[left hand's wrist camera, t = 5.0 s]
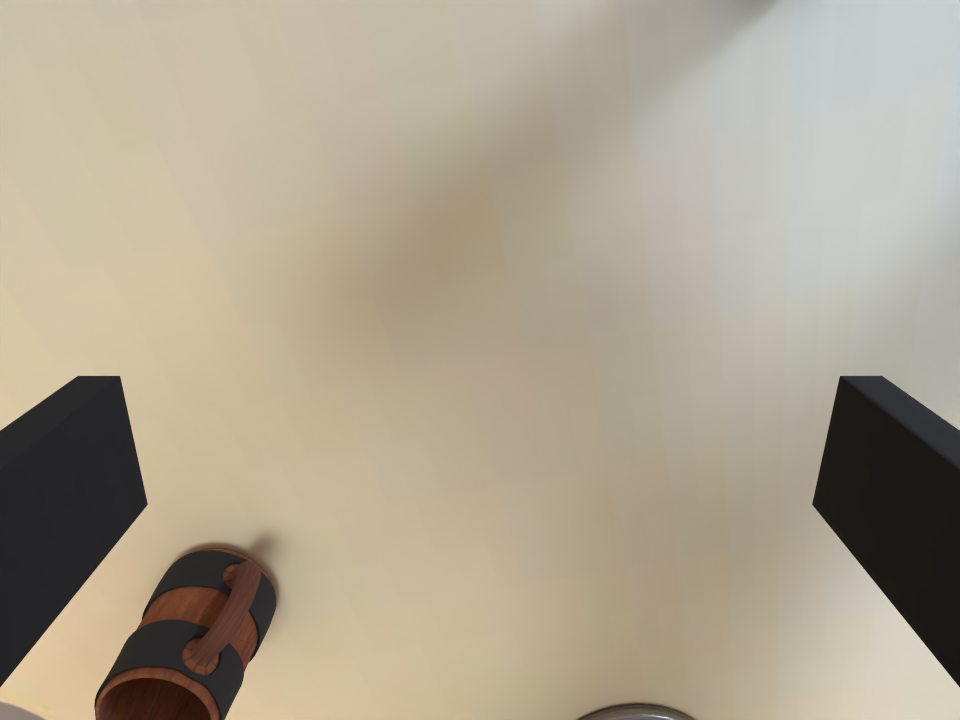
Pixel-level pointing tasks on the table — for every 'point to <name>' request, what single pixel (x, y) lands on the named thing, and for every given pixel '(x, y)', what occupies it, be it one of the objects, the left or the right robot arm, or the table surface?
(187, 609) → the mug
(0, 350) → the table surface
